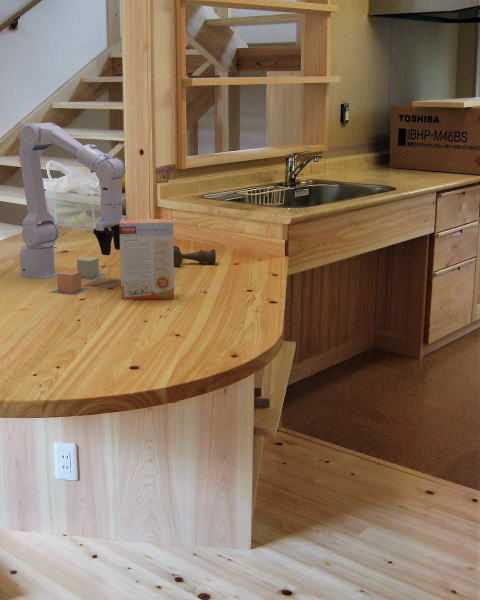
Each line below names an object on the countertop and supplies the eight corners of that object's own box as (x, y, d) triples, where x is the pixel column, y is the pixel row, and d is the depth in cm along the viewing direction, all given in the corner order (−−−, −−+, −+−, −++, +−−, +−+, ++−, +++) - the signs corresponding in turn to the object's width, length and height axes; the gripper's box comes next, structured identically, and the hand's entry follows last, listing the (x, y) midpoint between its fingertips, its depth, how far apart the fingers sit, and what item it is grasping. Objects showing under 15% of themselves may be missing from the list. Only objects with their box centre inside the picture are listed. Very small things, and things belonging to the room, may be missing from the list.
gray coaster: (69, 278, 230) (69, 277, 230) (83, 272, 238) (83, 271, 237) (93, 281, 228) (93, 279, 228) (107, 275, 235) (106, 273, 235)
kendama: (216, 269, 248) (152, 268, 245) (214, 263, 257) (152, 262, 255) (217, 250, 246) (152, 249, 244) (214, 245, 256) (152, 243, 253)
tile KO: (49, 293, 213) (48, 292, 213) (64, 286, 221) (64, 285, 221) (74, 296, 211) (74, 295, 211) (90, 289, 218) (90, 288, 218)
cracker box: (173, 294, 215) (173, 217, 210) (174, 299, 210) (173, 221, 204) (121, 294, 214) (119, 218, 208) (120, 300, 208) (119, 221, 202)
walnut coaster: (83, 286, 222) (83, 285, 222) (99, 279, 230) (99, 278, 230) (112, 289, 219) (112, 288, 219) (127, 282, 227) (127, 280, 227)
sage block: (77, 276, 231) (76, 259, 230) (85, 273, 235) (84, 256, 234) (91, 278, 230) (90, 261, 228) (98, 274, 234) (98, 258, 233)
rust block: (58, 291, 214) (57, 273, 213) (66, 287, 218) (66, 270, 217) (72, 293, 213) (71, 275, 212) (81, 289, 217) (80, 271, 216)
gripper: (112, 208, 208) (113, 258, 212) (136, 200, 221) (137, 248, 225) (88, 206, 210) (89, 256, 214) (113, 199, 224) (114, 246, 227)
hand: (112, 252), depth 220 cm, fingers open, 7 cm apart
